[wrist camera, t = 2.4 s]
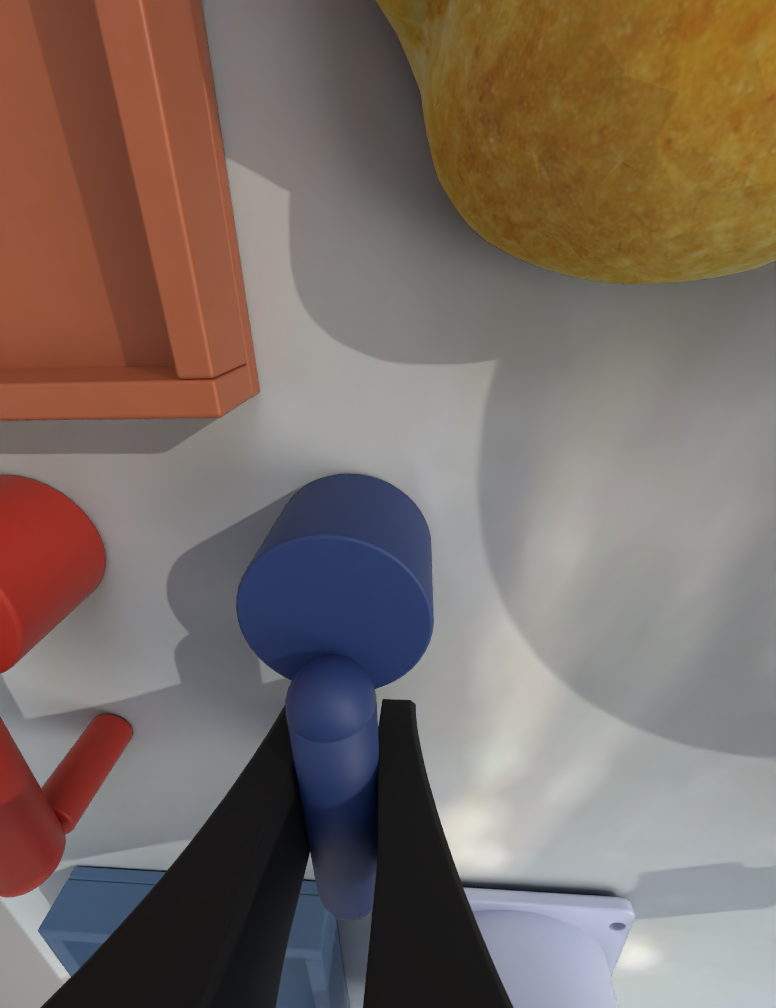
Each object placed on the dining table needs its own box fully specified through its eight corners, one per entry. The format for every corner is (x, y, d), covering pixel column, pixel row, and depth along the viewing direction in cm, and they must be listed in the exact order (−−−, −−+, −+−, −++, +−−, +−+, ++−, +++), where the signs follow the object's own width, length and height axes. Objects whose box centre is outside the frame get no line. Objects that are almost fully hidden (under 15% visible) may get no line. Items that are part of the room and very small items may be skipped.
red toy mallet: (174, 747, 14) (85, 916, 10) (66, 742, 14) (-61, 906, 10) (80, 473, 10) (-121, 585, 6) (-66, 473, 10) (-343, 581, 6)
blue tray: (353, 1026, 22) (347, 1089, 20) (159, 1010, 22) (137, 1069, 21) (331, 881, 16) (320, 952, 15) (75, 865, 17) (36, 931, 15)
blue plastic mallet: (428, 757, 13) (430, 941, 9) (311, 752, 13) (268, 929, 10) (431, 472, 9) (437, 594, 6) (267, 472, 10) (172, 589, 6)
